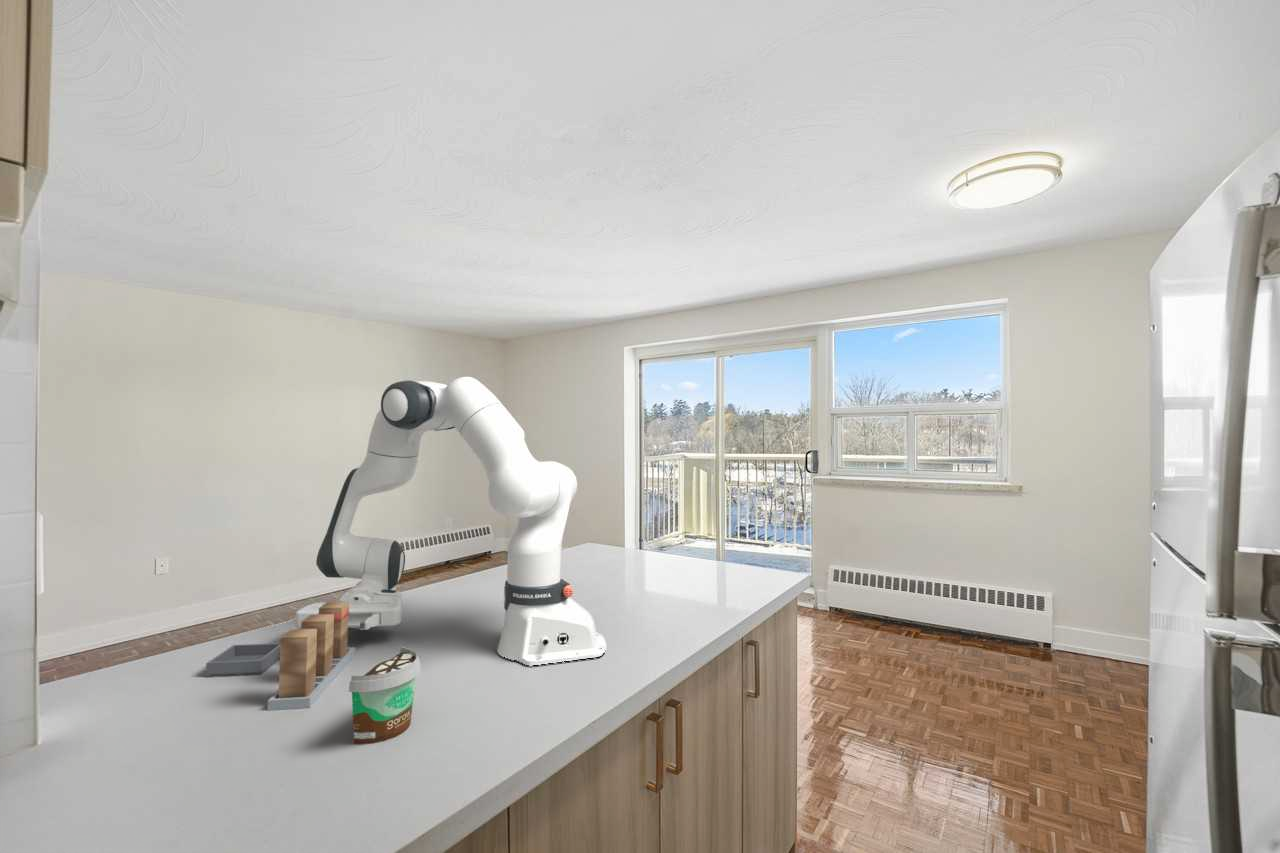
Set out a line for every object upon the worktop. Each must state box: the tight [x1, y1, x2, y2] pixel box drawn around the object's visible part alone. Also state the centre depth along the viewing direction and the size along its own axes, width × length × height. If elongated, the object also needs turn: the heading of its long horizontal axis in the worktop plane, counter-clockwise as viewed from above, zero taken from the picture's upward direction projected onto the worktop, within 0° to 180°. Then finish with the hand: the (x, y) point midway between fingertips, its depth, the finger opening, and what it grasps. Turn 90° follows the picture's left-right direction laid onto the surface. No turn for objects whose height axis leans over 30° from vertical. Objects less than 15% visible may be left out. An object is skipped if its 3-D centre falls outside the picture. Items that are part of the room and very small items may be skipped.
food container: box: [348, 646, 422, 745], centre depth 84 cm, size 12×6×10 cm, turn 168°
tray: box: [205, 642, 280, 678], centre depth 106 cm, size 9×9×2 cm
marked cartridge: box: [318, 601, 349, 659], centre depth 109 cm, size 4×4×11 cm
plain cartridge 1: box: [278, 628, 317, 698], centre depth 93 cm, size 4×4×11 cm
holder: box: [266, 647, 356, 711], centre depth 101 cm, size 6×22×2 cm, turn 10°
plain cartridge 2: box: [301, 614, 334, 677], centre depth 101 cm, size 4×4×11 cm
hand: (338, 626), depth 111 cm, fingers open, 8 cm apart
